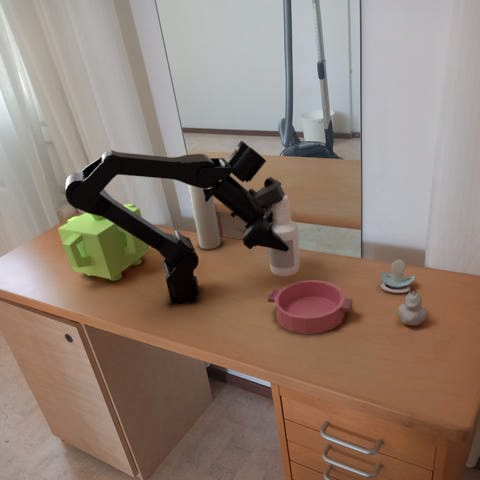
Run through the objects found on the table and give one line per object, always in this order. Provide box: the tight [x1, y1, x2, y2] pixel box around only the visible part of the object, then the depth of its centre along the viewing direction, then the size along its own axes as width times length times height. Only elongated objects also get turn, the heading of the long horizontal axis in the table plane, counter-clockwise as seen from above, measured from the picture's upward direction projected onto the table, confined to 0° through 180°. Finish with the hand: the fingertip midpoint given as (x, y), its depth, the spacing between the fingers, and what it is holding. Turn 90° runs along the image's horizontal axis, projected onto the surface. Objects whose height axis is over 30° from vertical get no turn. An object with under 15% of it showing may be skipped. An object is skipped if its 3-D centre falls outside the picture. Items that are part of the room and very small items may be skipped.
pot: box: [267, 279, 354, 335], centre depth 105 cm, size 18×15×4 cm
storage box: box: [57, 203, 151, 282], centre depth 131 cm, size 25×23×17 cm
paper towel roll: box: [187, 184, 221, 250], centre depth 134 cm, size 7×6×21 cm
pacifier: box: [380, 259, 416, 294], centre depth 108 cm, size 7×6×6 cm
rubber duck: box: [397, 290, 428, 327], centre depth 97 cm, size 5×7×8 cm
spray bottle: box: [268, 194, 301, 277], centre depth 111 cm, size 7×7×18 cm
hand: (289, 242), depth 112 cm, fingers closed on spray bottle, 7 cm apart
